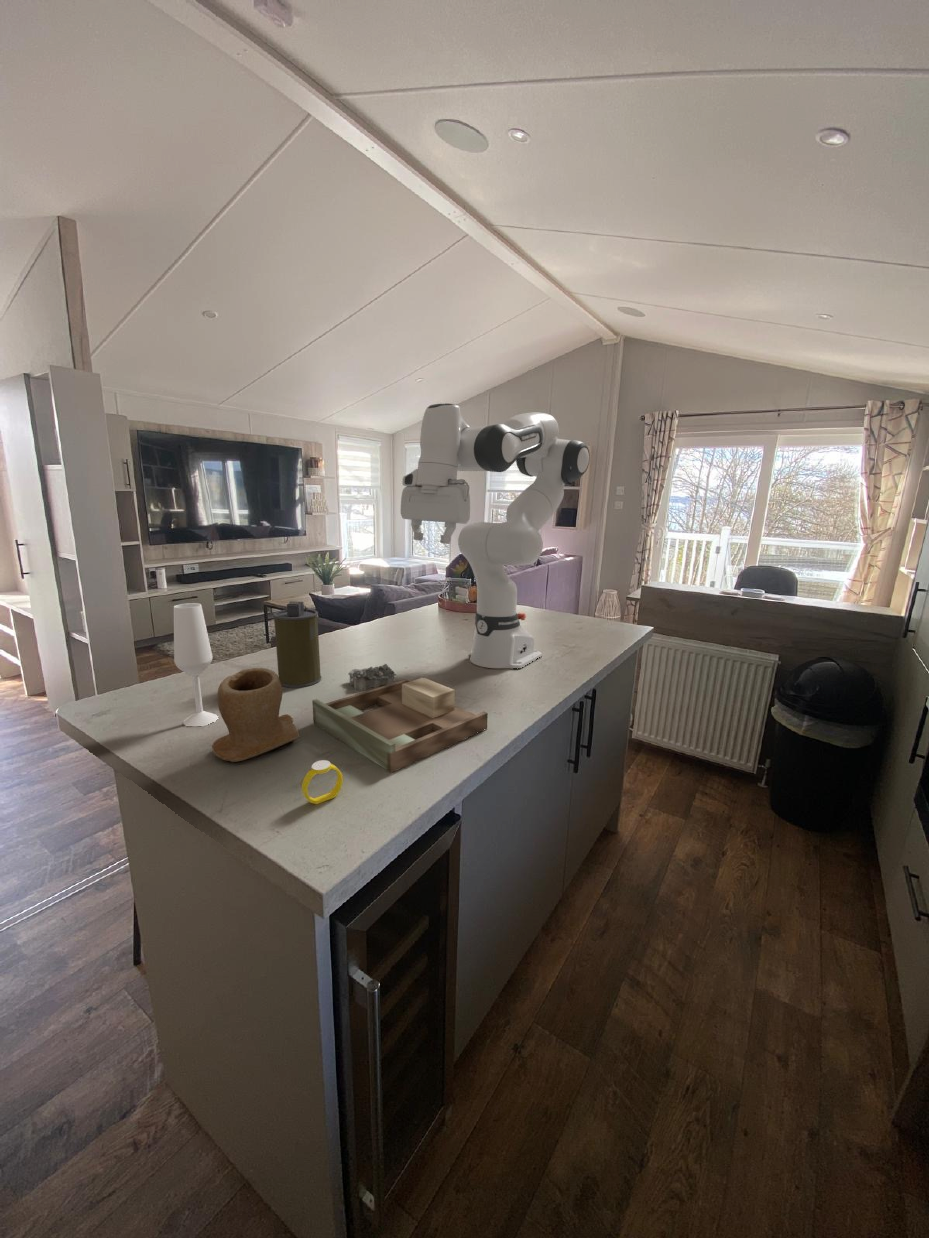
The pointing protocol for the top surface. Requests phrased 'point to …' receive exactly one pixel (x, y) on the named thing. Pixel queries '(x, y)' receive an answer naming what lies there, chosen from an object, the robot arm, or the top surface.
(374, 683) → the egg carton
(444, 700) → the block
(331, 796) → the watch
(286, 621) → the canister
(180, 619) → the champagne flute
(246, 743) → the clay pipe
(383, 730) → the brown shallow open piece
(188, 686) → the top surface
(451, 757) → the top surface
